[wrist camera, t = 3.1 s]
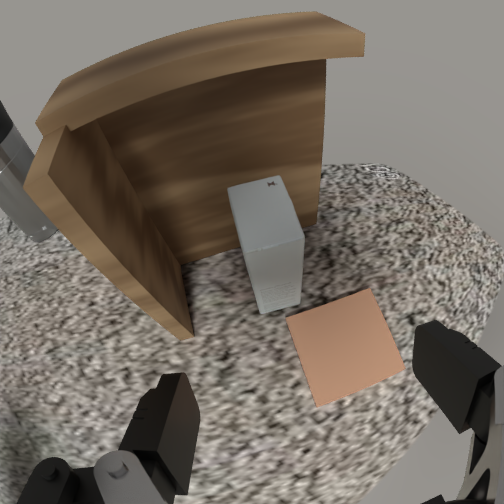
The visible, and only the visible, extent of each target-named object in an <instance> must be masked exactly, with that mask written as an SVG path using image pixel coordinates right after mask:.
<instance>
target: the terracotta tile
mask: <svg viewBox="0 0 504 504" xmlns="http://www.w3.org/2000/svg"><path fill="white" fill-rule="evenodd" d="M286 322H287V325H288V328H289V331H290V333H291V336H292V339H293V342H294V345H295V348H296V351H297V353H298V356H299V359H300V362H301V365H302V368H303V371H304V373H305V376H306V379H307V382H308V385H309V388H310V391H311V394H312V396H313V399H314V402H315V405H316V407H319V406H322V405H324V404H327V403H330V402H332V401H335V400H338V399H340V398H343V397H345V396H348V395H350V394H352V393H355V392H357V391H360V390H362V389H364V388H366V387H369V386H371V385H373V384H375V383H378V382H380V381H382V380H384V379H386V378H388V377H390V376H392V375H394V374H396V373H398V372H400V371H402V370H404V369H406V368H405V366H404V363H403V361H402V358H401V356H400V353H399V351H398V349H397V346H396V344H395V342H394V339H393V337H392V335H391V332H390V330H389V328H388V326H387V323H386V321H385V319H384V317H383V314H382V312H381V310H380V308H379V306H378V304H377V302H376V299H375V297H374V295H373V293H372V291H371V289H370V288H368V289H365V290H363V291H360V292H357V293H355V294H352V295H349V296H347V297H344V298H341V299H339V300H336V301H333V302H330V303H327V304H325V305H322V306H319V307H316V308H313V309H310V310H307V311H305V312H302V313H299V314H296V315H293V316H290V317H287V318H286Z"/></svg>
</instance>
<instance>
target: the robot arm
mask: <svg viewBox="0 0 504 504" xmlns="http://www.w3.org/2000/svg"><path fill="white" fill-rule="evenodd" d="M34 157H35V155H34V154H33V152H32V151H31V149H30V148H29V147H28V145H27V143H26V142H25V140H24V139H23V138H22V136H21V134H20V133H19V131H18V130H17V128H16V127H15V125H14V124H13V122H12V120H11V119H10V117H9V115H8V114H7V112H6V110H5V108H4V106H3V104H2V103H1V101H0V208H1V209H2V210H3V211H4V212H5V213H6V214H7V215H8V216H9V218H10V219H11V220H12V221H13V222H14V223H15V224H16V225H17V226H18V227H19V228H20V229H21V230H22V231H23V232H24V233H25V234H26V235H27V236H28V237H29V238H30V239H31V240H33V241H34V242H41V241H43V240H45V239H47V238H49V237H50V236H51V235H53V234H54V233H55V232H56V231H57V230H58V228H57V227H56V226H55V225H54V224H53V223H52V222H51V221H50V219H49V218H48V217H47V216H46V215H45V214H44V213H43V212H42V210H41V209H40V208H39V207H38V206H37V205H36V204H35V202H34V201H33V200H32V199H31V198H30V196H29V195H28V194H27V193H26V192H25V190H24V189H23V185H24V182H25V180H26V177H27V174H28V172H29V169H30V167H31V164H32V162H33V159H34ZM412 367H413V371H414V374H415V376H416V378H417V379H418V380H419V382H420V383H421V384H422V385H423V387H424V388H425V389H426V391H427V392H428V393H429V394H430V396H431V397H432V398H433V400H434V401H435V402H436V404H437V405H438V406H439V407H440V409H441V410H442V411H443V413H444V414H445V415H446V417H447V418H448V419H449V421H450V422H451V423H452V425H453V426H454V427H455V429H456V430H457V431H458V433H459V434H460V433H462V432H464V431H466V430H468V429H469V428H472V430H473V431H474V432H473V434H472V437H471V443H470V450H469V456H468V462H467V467H466V473H465V477H464V482H463V485H462V487H461V489H460V491H459V494H458V496H457V498H456V500H453V501H447V502H445V501H444V499H443V497H442V495H439V496H437V497H435V498H432V499H430V500H428V501H426V502H424V503H422V504H504V366H501V365H500V364H499V363H498V362H496V361H495V360H494V359H493V358H492V357H491V356H489V355H488V354H487V353H486V352H485V351H483V350H482V349H481V348H479V347H477V345H476V344H475V343H474V342H471V341H470V339H469V338H467V337H466V336H465V335H464V334H462V333H460V332H457V331H455V330H452V329H447V328H446V327H445V326H444V325H443V324H441V323H440V322H439V321H437V320H433V321H431V322H428V323H425V324H422V325H419V326H417V327H416V329H415V337H414V349H413V359H412ZM132 418H133V419H131V421H130V423H129V426H128V428H127V430H126V433H125V435H124V437H123V439H122V442H121V444H120V446H119V449H118V451H112V452H109V453H107V454H105V455H104V456H102V457H101V458H100V459H99V460H98V461H97V462H96V464H95V466H94V467H88V468H77V469H72V468H71V467H70V466H69V465H68V463H67V462H66V461H65V460H63V459H61V458H58V457H51V458H47V459H45V460H43V461H41V462H40V463H39V464H38V465H37V466H36V467H35V469H34V471H33V472H32V474H31V476H30V478H29V480H28V482H27V484H26V486H25V488H24V490H23V492H22V494H21V496H20V498H19V500H18V502H17V504H173V503H174V498H175V495H188V489H189V483H190V477H191V471H192V465H193V459H194V453H195V448H196V442H197V436H198V431H199V425H200V411H199V407H198V404H197V401H196V399H195V396H194V393H193V391H192V388H191V385H190V383H189V380H188V377H187V375H186V374H185V373H171V374H163V375H162V376H161V378H160V380H159V383H158V385H157V388H156V389H150V390H149V391H148V392H147V393H146V394H145V395H144V396H143V397H142V398H141V399H140V401H139V403H138V406H137V408H136V411H135V412H134V414H133V417H132Z"/></svg>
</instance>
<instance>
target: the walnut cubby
mask: <svg viewBox="0 0 504 504" xmlns="http://www.w3.org/2000/svg"><path fill="white" fill-rule="evenodd" d="M364 44H365V33H363V32H361V31H359V30H357V29H355V28H353V27H351V26H349V25H346V24H344V23H342V22H340V21H337V20H335V19H333V18H331V17H328V16H326V15H323V14H321V13H318V12H295V13H283V14H272V15H264V16H256V17H250V18H243V19H237V20H231V21H226V22H221V23H216V24H212V25H207V26H203V27H198V28H194V29H190V30H187V31H183V32H179V33H176V34H173V35H169V36H166V37H163V38H160V39H156V40H153V41H150V42H147V43H145V44H142V45H139V46H136V47H134V48H131V49H129V50H126V51H123V52H121V53H119V54H116V55H114V56H111V57H109V58H106V59H104V60H102V61H100V62H97V63H95V64H93V65H91V66H89V67H87V68H85V69H83V70H81V71H79V72H77V73H75V74H73V75H71V76H69V77H67V78H65V79H63V80H62V81H61V83H60V84H59V85H58V87H57V88H56V90H55V91H54V93H53V95H52V96H51V97H50V99H49V101H48V102H47V104H46V105H45V107H44V109H43V110H42V112H41V114H40V115H39V117H38V119H37V120H36V122H35V124H36V125H37V127H38V128H39V130H40V132H41V133H42V135H43V139H42V141H41V144H40V146H39V148H38V150H37V153H36V155H35V157H34V159H33V162H32V164H31V167H30V169H29V172H28V174H27V177H26V180H25V182H24V185H23V189H24V190H25V192H26V193H27V194H28V195H29V196H30V198H31V199H32V200H33V201H34V202H35V204H36V205H37V206H38V207H39V208H40V209H41V210H42V212H43V213H44V214H45V215H46V216H47V217H48V218H49V219H50V221H51V222H52V223H53V224H54V225H55V226H56V227H57V228H58V229H59V230H60V231H61V233H62V234H63V235H64V236H65V237H66V238H67V239H68V240H69V241H70V242H71V243H72V244H73V245H74V246H75V247H76V248H77V249H78V250H79V251H80V252H81V253H82V254H83V255H84V256H85V257H86V258H87V259H88V260H89V261H90V262H91V263H92V264H93V265H94V266H95V267H96V268H97V269H98V270H99V271H100V272H101V273H102V274H103V275H104V276H105V277H106V278H108V279H109V280H110V281H111V282H112V283H113V284H114V285H115V286H116V287H117V288H118V289H120V290H121V291H122V292H123V293H124V294H125V295H126V296H127V297H128V298H130V299H131V300H132V301H133V302H134V303H135V304H136V305H138V306H139V307H140V308H141V309H142V310H143V311H145V312H146V313H147V314H148V315H149V316H151V317H152V318H153V319H154V320H155V321H157V322H158V323H159V324H160V325H161V326H163V327H164V328H165V329H166V330H168V331H169V332H170V333H171V334H173V335H174V336H175V337H177V338H178V339H179V340H184V339H188V338H191V337H194V333H193V328H192V324H191V319H190V314H189V309H188V304H187V299H186V294H185V289H184V283H183V278H182V272H181V267H180V265H182V264H186V263H189V262H192V261H195V260H199V259H202V258H205V257H208V256H212V255H215V254H218V253H222V252H225V251H228V250H231V249H235V248H238V247H241V245H240V241H239V237H238V234H237V230H236V226H235V222H234V218H233V214H232V210H231V205H230V201H229V196H228V191H227V189H228V188H229V187H232V186H236V185H239V184H243V183H248V182H252V181H256V180H260V179H265V178H269V177H273V176H277V175H280V176H281V178H282V181H283V183H284V185H285V188H286V190H287V192H288V195H289V197H290V199H291V201H292V203H293V206H294V209H295V212H296V215H297V218H298V220H299V223H300V225H301V228H304V227H308V226H311V225H314V224H316V222H317V212H318V202H319V191H320V179H321V166H322V152H323V136H324V117H325V90H326V89H325V88H326V59H328V58H343V57H363V56H364V46H365V45H364Z"/></svg>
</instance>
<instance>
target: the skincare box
mask: <svg viewBox="0 0 504 504" xmlns="http://www.w3.org/2000/svg"><path fill="white" fill-rule="evenodd" d="M227 191H228V196H229V201H230V205H231V210H232V214H233V218H234V222H235V226H236V230H237V234H238V237H239V241H240V245H241V249H242V253H243V256H244V260H245V264H246V267H247V271H248V274H249V278H250V281H251V285H252V288H253V291H254V295H255V298H256V302H257V305H258V308H259V312H260V314H264V313H267V312H271V311H275V310H279V309H282V308H286V307H290V306H294V305H298V304H300V302H301V289H302V276H303V261H304V242H305V235H304V233H303V230H302V228H301V225H300V223H299V220H298V218H297V215H296V212H295V209H294V206H293V203H292V201H291V199H290V197H289V195H288V192H287V190H286V188H285V185H284V183H283V181H282V178H281V176H280V175H277V176H273V177H269V178H265V179H260V180H256V181H252V182H248V183H243V184H239V185H236V186H232V187H229V188H228V189H227Z"/></svg>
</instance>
